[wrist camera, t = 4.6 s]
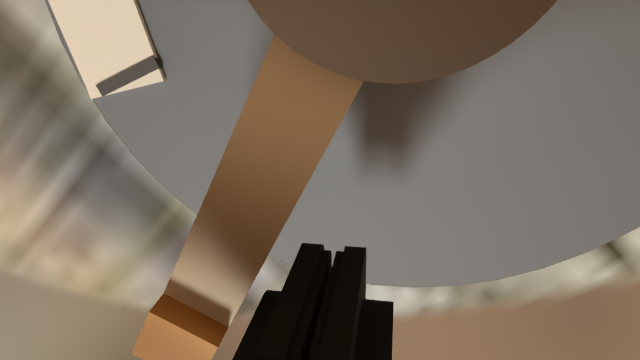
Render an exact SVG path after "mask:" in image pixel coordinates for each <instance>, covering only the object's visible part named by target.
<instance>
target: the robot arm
mask: <svg viewBox="0 0 640 360" xmlns="http://www.w3.org/2000/svg"><path fill="white" fill-rule="evenodd" d="M365 293H366V247H353V246H345V248H344V251H336V254H335V258H334V261H333V265H332V253H331V250H324V245H323V244H312V243H302V244H301V246H300V249H299V251H298V253H297V256H296V258H295V261H294V263H293V265H292V268H291V270H290V273H289V275H288V277H287V280H286V282H285V284H284V287H283V289H282V291H272V290H267V291H266V292H265V293H264V295H263V297H262V299H261V301H260V303H259V305H258V307H257V309H256V311H255V313H254V316H253V318H252V320H251V322H250V324H249V326H248V328H247V330H246V332H245V335H244V336H243V339H242V341H241V343H240V345H239V347H238V349H237V351H236V353H235V355H234V357H233V359H232V360H392V332H393V302H388V301H378V300H367V299H365Z"/></svg>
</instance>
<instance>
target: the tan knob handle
mask: <svg viewBox="0 0 640 360" xmlns="http://www.w3.org/2000/svg"><path fill="white" fill-rule="evenodd" d="M247 1H248V2H249V3H250V5H251V6H252V7H253V9H254V10H255V12H256V13H257V14H258V16H259V17H260V18H261V20H262V21H263V22H264V23H265V24H266V25H267V26H268V27H269V28H270V29H271V31H272V32H273V33H274V34H275V35H274V37H273V39H272V42H271V44H270V46H269V49H268V51H267V53H266V56H265V58H264V60H263V63H262V65H261V67H260V70H259V72H258V74H257V77H256V79H255V81H254V84H253V86H252V88H251V91H250V93H249V95H248V98H247V100H246V102H245V105H244V107H243V109H242V112H241V114H240V116H239V119H238V121H237V123H236V126H235V128H234V130H233V133H232V135H231V137H230V140H229V142H228V144H227V147H226V149H225V151H224V154H223V156H222V158H221V161H220V163H219V165H218V168H217V170H216V172H215V175H214V177H213V179H212V182H211V184H210V186H209V189H208V191H207V193H206V196H205V198H204V200H203V203H202V205H201V207H200V210H199V212H198V214H197V217H196V219H195V221H194V224H193V226H192V228H191V231H190V233H189V235H188V238H187V240H186V242H185V245H184V247H183V249H182V252H181V254H180V256H179V259H178V261H177V263H176V266H175V268H174V270H173V273H172V275H171V277H170V280H169V282H168V284H167V287H166V289H165V291H164V294H163V295H162V296H161V297H160V299H159V300H158V301H157V302H156V304H155V305H154V306H153V308H152V309H151V310H150V311H149V313H148V316H147V318H146V321H145V323H144V325H143V328H142V330H141V332H140V335H139V337H138V340H137V342H136V345H135V347H134V349H133V352H132V354H133V355H135V356H138V357H139V358H141V359H143V360H211V359H212V357H213V355H214V354H215V352H216V350H217V348H218V346H219V344H220V342H221V341H222V339H223V337H224V335H225V333H226V331H227V329H228V327H229V325H230V323H231V322H232V320H233V318H234V316H235V314H236V312H237V311H238V309H239V307H240V305H241V303H242V302H243V300H244V298H245V296H246V294H247V292H248V291H249V289H250V287H251V285H252V283H253V282H254V280H255V278H256V276H257V274H258V272H259V271H260V269H261V267H262V265H263V263H264V262H265V260H266V258H267V256H268V254H269V252H270V251H271V249H272V247H273V245H274V243H275V242H276V240H277V238H278V236H279V234H280V232H281V231H282V229H283V227H284V225H285V223H286V222H287V220H288V218H289V216H290V214H291V212H292V211H293V209H294V207H295V205H296V203H297V202H298V200H299V198H300V196H301V194H302V192H303V191H304V189H305V187H306V185H307V183H308V182H309V180H310V178H311V176H312V174H313V172H314V171H315V169H316V167H317V165H318V163H319V162H320V160H321V158H322V156H323V154H324V152H325V151H326V149H327V147H328V145H329V143H330V142H331V140H332V138H333V136H334V134H335V133H336V131H337V129H338V127H339V125H340V123H341V122H342V120H343V118H344V116H345V114H346V113H347V111H348V109H349V107H350V105H351V103H352V102H353V100H354V98H355V96H356V94H357V93H358V91H359V89H360V87H361V85H362V83H363V81H368V82H374V83H392V84H401V83H412V82H422V81H427V80H431V79H436V78H440V77H445V76H447V75H450V74H453V73H456V72H459V71H462V70H465V69H467V68H469V67H471V66H473V65H475V64H477V63H479V62H481V61H484V60H486V59H488V58H490V57H491V56H493V55H494V54H496V53H497V52H499V51H501V50H502V49H504V48H505V47H507V46H508V45H510V44H511V43H513V42H514V41H515V40H516V39H518V38H519V37H520V36H521V35H523V34H524V33H525V32H526V31H527V30H529V29H530V28H531V27H532V26H534V25H535V23H536V22H537V21H538V20H539V19H540V18H541V17H542V16H543V15H544V14H545V13H546V12H547V11H548V10H549V9H550V8H551V7H552V6H553V5H554V4H555V3H556V1H557V0H247Z"/></svg>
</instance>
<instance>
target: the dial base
mask: <svg viewBox="0 0 640 360" xmlns="http://www.w3.org/2000/svg"><path fill="white" fill-rule="evenodd" d="M45 1H46V4H47V6H48V9H49V11H50V14H51V17H52V19H53V22H54V24H55V27H56V30H57V32H58V35H59V37H60V40H61V42H62V44H63V46H64V48H65V50H66V52H67V54H68V56H69V58H70V60H71V62H72V64H73V66H74V68H75V70H76V72H77V74H78V76H79V78H80V80H81V82H82V84H83V85H84V87H85V88H86V90H87V92H88V93H89V95H90V98H91V99H92V100H93V101H94V103H95V104H96V106H97V107H98V109H99V111H100V112H101V114H102V115H103V117H104V118H105V120H106V122H107V123H108V124H109V125H110V127H111V128H112V129H113V131H114V132H115V133H116V134H117V136H118V137H119V138H120V139H121V141H122V142H123V143H124V145H125V146H126V147H127V148H128V150H129V151H130V152H131V154H132V155H133V156H134V157H135V158H136V159H137V160H138V161H139V162H140V163H141V164H142V165H143V166H144V167H145V168H146V170H147V171H148V172H149V173H150V174H151V175H152V176H153V177H154V178H155V179H156V180H157V181H158V182H159V183H160V184H161V185H162V186H163V187H164V188H165V189H167V190H168V191H169V192H170V193H171V194H172V195H174V196H175V197H176V198H177V199H178V200H180V201H181V202H182V203H183V204H184V205H185V206H187V207H188V208H189V209H190V210H191V211H193V212H194V213H195V214H198V212H199V210H200V207H201V205H202V203H203V200H204V198H205V196H206V193H207V191H208V189H209V186H210V184H211V182H212V179H213V177H214V175H215V172H216V170H217V168H218V165H219V163H220V161H221V158H222V156H223V154H224V151H225V149H226V147H227V144H228V142H229V140H230V137H231V135H232V133H233V130H234V128H235V126H236V123H237V121H238V119H239V116H240V114H241V112H242V109H243V107H244V105H245V102H246V100H247V98H248V95H249V93H250V91H251V88H252V86H253V84H254V81H255V79H256V77H257V74H258V72H259V70H260V67H261V65H262V63H263V60H264V58H265V56H266V53H267V51H268V49H269V46H270V44H271V42H272V39H273V37H274V35H275V34H274V33H273V32H272V31H271V29H270V28H269V27H268V26H267V25H266V24H265V23H264V22H263V21H262V20H261V18H260V17H259V16H258V14H257V13H256V12H255V10H254V9H253V7H252V6H251V5H250V3H249V2H248V1H247V0H45ZM638 227H640V0H557V1H556V3H555V4H554V5H553V6H552V7H551V8H550V9H549V10H548V11H547V12H546V13H545V14H544V15H543V16H542V17H541V18H540V19H539V20H538V21H537V22H536V23H535V25H534V26H532V27H531V28H530V29H529V30H527V31H526V32H525V33H524V34H523V35H521V36H520V37H519V38H518V39H516V40H515V41H514V42H513V43H511V44H510V45H508V46H507V47H505V48H504V49H502V50H501V51H499V52H497V53H496V54H494V55H493V56H491V57H490V58H488V59H486V60H484V61H481V62H479V63H477V64H475V65H473V66H471V67H469V68H467V69H465V70H462V71H459V72H456V73H453V74H450V75H447V76H445V77H440V78H436V79H431V80H427V81H422V82H412V83H401V84H392V83H374V82H368V81H363V83H362V85H361V87H360V89H359V91H358V93H357V94H356V96H355V98H354V100H353V102H352V103H351V105H350V107H349V109H348V111H347V113H346V114H345V116H344V118H343V120H342V122H341V123H340V125H339V127H338V129H337V131H336V133H335V134H334V136H333V138H332V140H331V142H330V143H329V145H328V147H327V149H326V151H325V152H324V154H323V156H322V158H321V160H320V162H319V163H318V165H317V167H316V169H315V171H314V172H313V174H312V176H311V178H310V180H309V182H308V183H307V185H306V187H305V189H304V191H303V192H302V194H301V196H300V198H299V200H298V202H297V203H296V205H295V207H294V209H293V211H292V212H291V214H290V216H289V218H288V220H287V222H286V223H285V225H284V227H283V229H282V231H281V232H280V234H279V236H278V238H277V240H276V242H275V243H274V245H273V247H272V249H271V251H270V252H269V254H268V256H270V257H272V258H275V259H277V260H280V261H282V262H285V263H287V264H290V265H293V263H294V261H295V258H296V256H297V253H298V251H299V249H300V246H301V244H302V243H312V244H323V245H324V250H331V253H332V265H333V261H334V258H335V254H336V251H344V248H345V246H353V247H366V284H371V285H383V286H399V287H438V286H458V285H465V284H472V283H478V282H485V281H492V280H499V279H503V278H507V277H511V276H515V275H519V274H523V273H527V272H531V271H534V270H538V269H542V268H546V267H548V266H551V265H554V264H556V263H559V262H562V261H565V260H567V259H570V258H573V257H576V256H578V255H581V254H584V253H586V252H589V251H591V250H593V249H595V248H598V247H600V246H602V245H604V244H606V243H608V242H610V241H612V240H614V239H616V238H618V237H620V236H622V235H624V234H626V233H628V232H630V231H632V230H634V229H636V228H638Z"/></svg>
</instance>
